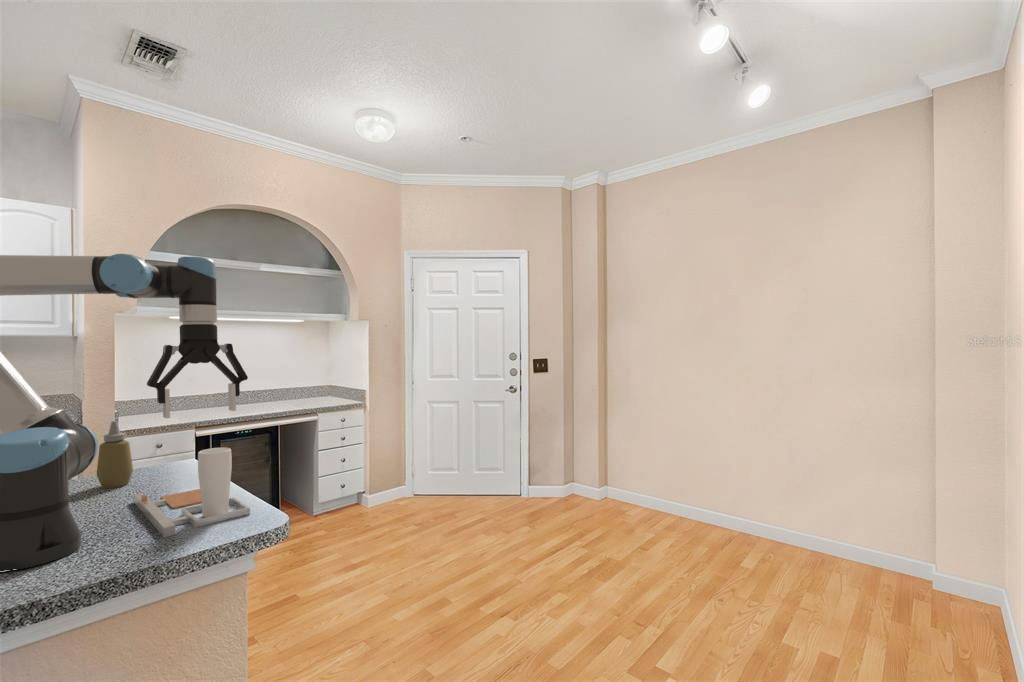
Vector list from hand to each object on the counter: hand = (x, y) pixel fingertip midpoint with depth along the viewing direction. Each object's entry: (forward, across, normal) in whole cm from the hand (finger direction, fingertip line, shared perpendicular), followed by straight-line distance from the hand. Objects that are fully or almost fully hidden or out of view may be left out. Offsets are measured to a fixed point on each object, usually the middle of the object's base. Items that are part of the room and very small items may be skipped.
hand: (200, 413), depth 118 cm
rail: (+23, +1, -5) cm, 24 cm away
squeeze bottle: (+23, +10, -43) cm, 50 cm away
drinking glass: (+24, -1, +4) cm, 24 cm away
